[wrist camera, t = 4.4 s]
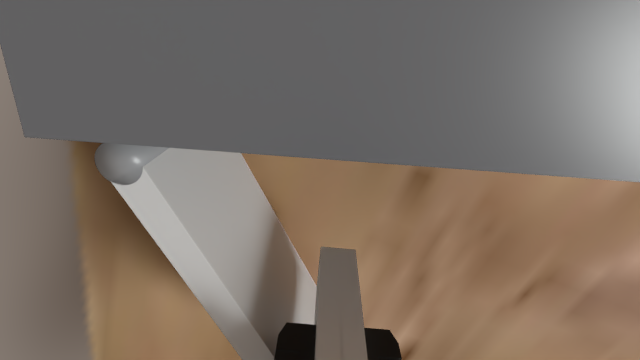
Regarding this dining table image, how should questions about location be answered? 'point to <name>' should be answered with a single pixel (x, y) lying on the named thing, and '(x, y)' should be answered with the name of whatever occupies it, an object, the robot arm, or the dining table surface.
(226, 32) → the block
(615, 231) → the dining table surface
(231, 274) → the door
